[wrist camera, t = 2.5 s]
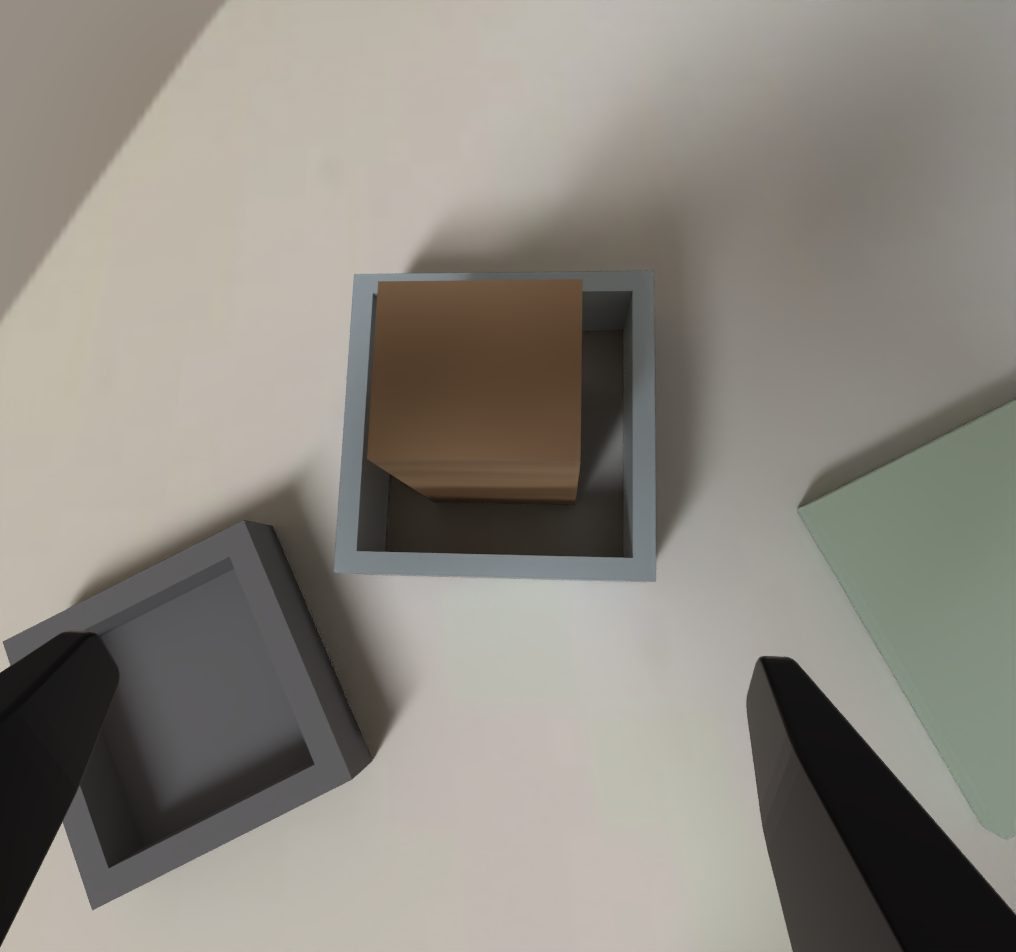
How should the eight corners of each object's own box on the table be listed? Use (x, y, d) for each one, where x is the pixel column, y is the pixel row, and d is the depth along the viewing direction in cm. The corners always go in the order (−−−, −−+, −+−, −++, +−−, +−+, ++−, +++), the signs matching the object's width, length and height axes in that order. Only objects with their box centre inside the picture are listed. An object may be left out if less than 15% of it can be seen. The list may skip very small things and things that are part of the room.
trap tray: (137, 879, 21) (92, 910, 19) (53, 636, 22) (2, 641, 20) (372, 760, 21) (352, 779, 19) (272, 525, 22) (243, 519, 20)
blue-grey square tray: (643, 582, 21) (656, 581, 18) (365, 574, 21) (333, 572, 18) (642, 312, 22) (653, 270, 19) (381, 314, 23) (354, 274, 20)
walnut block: (575, 504, 21) (580, 461, 14) (434, 502, 22) (366, 459, 14) (576, 382, 22) (582, 279, 15) (439, 382, 22) (378, 281, 15)
